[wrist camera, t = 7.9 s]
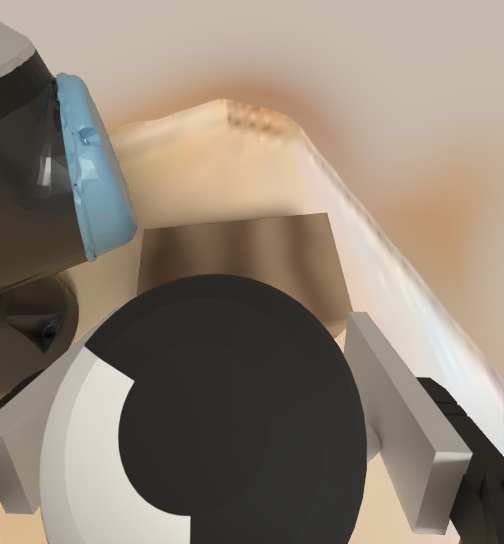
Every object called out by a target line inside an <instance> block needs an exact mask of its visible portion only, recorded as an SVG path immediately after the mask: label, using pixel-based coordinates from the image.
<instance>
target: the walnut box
mask: <svg viewBox="0 0 504 544" xmlns="http://www.w3.org/2000/svg"><path fill="white" fill-rule="evenodd" d="M203 274H227V275H236V276H241V277H246V278H251V279H254V280H257V281H260V282H263V283H266V284H269V285H271V286H273V287H275V288H277V289H279V290H281V291H283V292H285V293H286V294H288V295H289V296H291V297H292V298H294V299H295V300H297V301H298V302H300V303H301V304H302V305H303V306H304V307H305V308H307V309H308V310H309V311H310V312H311V313H312V314H313V315H315V317H316V318H317V319H318V320H319V321H320V322H321V323H322V324H323V326H324V327H325V328H326V329H327V330H328V331H329V333H330V334H331V336H332V337H333V338H335V337H337V336H338V335H339V334H340V333H341V332H342V331H343V330H344V329H345V328H346V327H347V321H348V313H349V312H353V310H352V306H351V302H350V299H349V295H348V291H347V287H346V283H345V279H344V276H343V272H342V268H341V264H340V260H339V257H338V253H337V249H336V245H335V241H334V237H333V234H332V230H331V226H330V222H329V218H328V214H327V213H318V214H307V215H296V216H286V217H275V218H264V219H254V220H243V221H232V222H222V223H211V224H200V225H189V226H179V227H168V228H157V229H147V230H144V234H143V244H142V253H141V262H140V271H139V280H138V289H137V296H139V295H141V294H142V293H144V292H146V291H148V290H150V289H152V288H154V287H157V286H159V285H161V284H163V283H166V282H170V281H173V280H176V279H179V278H184V277H189V276H195V275H203Z"/></svg>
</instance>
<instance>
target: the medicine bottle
mask: <svg viewBox="0 0 504 544" xmlns="http://www.w3.org/2000/svg"><path fill="white" fill-rule="evenodd" d="M380 449H381V441H380V439H379V437H378V435H377V434H376V433H375V431H374V430H373V429H372V428H371V426H370V425H369V424H368V422H367V421H366V420H365V417H364V412H363V407H362V403H361V399H360V395H359V390H358V388H357V385H356V382H355V380H354V377H353V374H352V371H351V369H350V367H349V365H348V363H347V361H346V359H345V357H344V355H343V353H342V351H341V349H340V347H339V346H338V344H337V343H336V342H335V340H334V339H333V337H332V336H331V334H330V333H329V331H328V330H327V329H326V328H325V327H324V326H323V324H322V323H321V322H320V321H319V320H318V319H317V318H316V317H315V315H313V314H312V313H311V312H310V311H309V310H308V309H307V308H305V307H304V306H303V305H302V304H301V303H300V302H298V301H297V300H295V299H294V298H292V297H291V296H289V295H288V294H286V293H285V292H283V291H281V290H279V289H277V288H275V287H273V286H271V285H269V284H266V283H263V282H260V281H257V280H254V279H251V278H246V277H241V276H236V275H227V274H203V275H195V276H189V277H184V278H179V279H176V280H173V281H170V282H166V283H163V284H161V285H159V286H157V287H154V288H152V289H150V290H148V291H146V292H144V293H142V294H141V295H139V296H137V297H136V298H134V299H132V300H130V301H129V302H128V303H126V304H125V305H124V306H122V307H121V308H120V309H118V310H117V311H116V312H114V313H113V314H112V315H111V316H110V317H109V318H108V319H107V320H106V321H105V322H104V323H103V324H102V325H101V326H99V327H98V329H97V330H96V331H95V332H94V333H93V334H92V336H91V337H90V338H89V339H88V340H87V341H86V343H85V344H84V345H83V347H82V348H81V350H80V351H79V353H78V354H77V356H76V357H75V358H74V360H73V361H72V363H71V365H70V367H69V368H68V370H67V372H66V374H65V376H64V378H63V380H62V382H61V383H60V386H59V388H58V391H57V393H56V396H55V398H54V401H53V403H52V406H51V409H50V412H49V416H48V419H47V423H46V426H45V430H44V435H43V441H42V447H41V454H40V465H39V496H40V508H41V516H42V520H43V525H44V529H45V534H46V539H47V543H48V544H348V542H349V540H350V537H351V535H352V533H353V530H354V528H355V524H356V521H357V517H358V513H359V510H360V506H361V503H362V499H363V492H364V485H365V478H366V471H367V463H368V462H369V461H370V460H371V459H372V458H373V457H374V456H375V455H377V454H378V452H379V451H380Z"/></svg>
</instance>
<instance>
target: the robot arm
mask: <svg viewBox="0 0 504 544" xmlns="http://www.w3.org/2000/svg"><path fill="white" fill-rule="evenodd" d="M136 228H137V221H136V216H135V211H134V208H133V205H132V201H131V198H130V195H129V192H128V189H127V186H126V183H125V180H124V177H123V174H122V172H121V169H120V166H119V163H118V161H117V158H116V155H115V153H114V150H113V147H112V145H111V142H110V139H109V137H108V134H107V132H106V129H105V127H104V124H103V122H102V119H101V117H100V114H99V112H98V110H97V108H96V106H95V103H94V102H93V100H92V98H91V96H90V94H89V91H88V88H87V86H86V84H85V83H84V82H83V80H82V79H81V78H79V77H78V76H75V75H67V74H65V73H59V74H57V77H56V78H55V77H54V76H53V75H52V74H51V73H50V72H49V70H48V68H47V67H46V65H45V64H44V62H43V60H42V59H41V57H40V55H39V54H38V52H37V50H36V49H35V47H34V46H33V44H32V42H31V41H30V40H29V39H28V38H27V37H26V36H24V35H22V34H20V33H19V32H17V31H15V30H13V29H11V28H9V27H8V26H6V25H4V24H2V23H1V22H0V501H1V504H2V506H3V508H4V510H5V513H14V514H34V513H35V511H36V510H37V509H38V507H39V506H40V496H39V465H40V454H41V447H42V441H43V435H44V430H45V426H46V423H47V419H48V416H49V412H50V409H51V406H52V403H53V401H54V398H55V396H56V393H57V391H58V388H59V386H60V383H61V382H62V380H63V378H64V376H65V374H66V372H67V370H68V368H69V367H70V365H71V363H72V361H73V360H74V358H75V357H76V356H77V354H78V353H79V351H80V350H81V348H82V347H83V345H84V344H85V343H86V341H87V340H88V339H89V338H90V337H91V336H92V334H93V333H94V332H95V331H96V330H97V329H98V327H99V326H101V325H102V324H103V323H104V322H105V321H106V320H107V319H108V318H109V317H110V316H111V315H112V314H113V313H114V312H116V311H117V310H118V309H120V308H116V309H115V310H114V311H112V312H111V313H110V314H109V315H108V316H107V317H106V318H104V319H103V320H102V321H101V322H100V323H99V324H98V325H96V326H95V327H94V328H93V329H92V330H91V331H90V332H88V333H87V334H86V335H85V336H84V337H83V338H82V339H80V340H79V341H78V342H77V343H76V344H75V345H73V346H72V347H71V348H70V349H69V350H68V348H69V346H70V344H71V342H72V340H73V337H74V335H75V331H76V328H77V322H78V307H77V302H76V299H75V296H74V294H73V293H72V291H71V290H70V288H69V287H68V286H67V285H66V284H65V283H63V282H62V281H61V280H59V279H57V278H56V277H54V276H53V275H52V274H55V273H58V272H60V271H63V270H65V269H68V268H71V267H73V266H76V265H78V264H81V263H84V262H86V261H88V262H92V261H94V260H96V258H97V256H100V255H102V254H104V253H106V252H109V251H111V250H113V249H116V248H118V247H120V246H122V245H125V244H126V243H128V242H129V241H130V240H131V239H132V238H133V236H134V235H135V232H136ZM67 350H68V351H67ZM344 357H345V359H346V361H347V363H348V365H349V367H350V369H351V371H352V374H353V377H354V380H355V382H356V385H357V388H358V390H359V395H360V399H361V403H362V407H363V412H364V417H365V419H366V421H367V422H368V424H369V425H370V426H371V428H372V429H373V430H374V431H375V433H376V434H377V435H378V437H379V439H380V441H381V449H380V451H379V453H380V455H381V457H382V460H383V462H384V465H385V467H386V469H387V472H388V474H389V477H390V479H391V481H392V484H393V486H394V489H395V491H396V493H397V496H398V498H399V501H400V503H401V505H402V508H403V510H404V513H405V515H406V517H407V520H408V522H409V525H410V527H411V529H412V532H413V533H419V534H439V535H445V533H446V530H447V527H448V524H449V521H450V519H451V521H452V523H453V525H454V526H455V528H456V530H457V532H458V534H459V536H460V537H461V539H460V541H459V544H504V457H503V455H502V454H501V453H500V452H499V451H498V450H497V448H496V447H495V446H494V445H493V444H492V443H491V441H490V440H489V439H488V438H487V437H486V436H485V434H484V433H483V432H482V431H481V430H480V429H479V427H478V426H477V425H476V424H475V423H474V422H473V420H472V419H471V418H470V417H468V416H467V413H466V412H465V411H464V410H463V409H462V408H461V406H460V405H457V402H456V401H455V399H454V398H453V397H452V396H451V395H450V394H449V392H448V391H447V390H446V389H445V388H444V387H442V386H441V385H439V384H438V383H436V382H435V381H434V380H432V379H431V378H424V377H415V376H414V375H413V373H412V372H411V371H410V369H409V368H408V367H407V366H406V364H405V363H404V362H403V360H402V359H401V358H400V356H399V355H398V354H397V352H396V351H395V350H394V348H393V347H392V346H391V344H390V343H389V342H388V340H387V339H386V338H385V336H384V335H383V334H382V332H381V331H380V330H379V328H378V327H377V326H376V324H375V323H374V322H373V320H372V319H371V318H370V317H369V315H368V314H367V313H366V312H349V313H348V321H347V330H346V338H345V347H344Z"/></svg>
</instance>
